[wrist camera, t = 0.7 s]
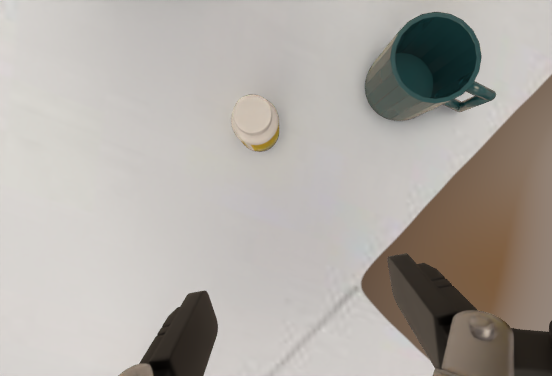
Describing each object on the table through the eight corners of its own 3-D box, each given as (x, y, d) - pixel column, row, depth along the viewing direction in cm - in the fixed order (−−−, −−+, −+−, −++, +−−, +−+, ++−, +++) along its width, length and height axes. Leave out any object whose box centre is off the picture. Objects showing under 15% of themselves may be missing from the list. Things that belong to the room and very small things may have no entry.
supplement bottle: (285, 122, 37) (287, 100, 27) (269, 158, 37) (265, 150, 27) (249, 106, 37) (238, 78, 27) (233, 142, 37) (217, 127, 27)
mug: (352, 102, 37) (375, 78, 28) (384, 39, 36) (416, -4, 28) (438, 144, 37) (485, 133, 28) (469, 82, 36) (528, 52, 28)
